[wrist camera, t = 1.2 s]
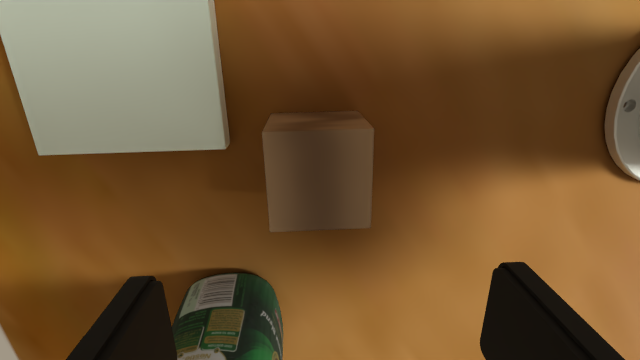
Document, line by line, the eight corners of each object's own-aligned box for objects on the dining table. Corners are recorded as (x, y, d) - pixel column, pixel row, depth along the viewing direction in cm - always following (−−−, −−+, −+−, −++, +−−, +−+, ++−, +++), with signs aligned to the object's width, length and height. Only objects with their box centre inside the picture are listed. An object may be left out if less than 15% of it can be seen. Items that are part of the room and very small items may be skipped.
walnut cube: (357, 110, 24) (374, 128, 19) (356, 190, 26) (370, 227, 21) (271, 113, 24) (261, 132, 19) (276, 193, 26) (270, 232, 21)
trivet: (207, -58, 20) (199, -66, 19) (230, 143, 25) (225, 149, 23) (-6, -56, 20) (-31, -64, 18) (54, 148, 24) (38, 155, 23)
